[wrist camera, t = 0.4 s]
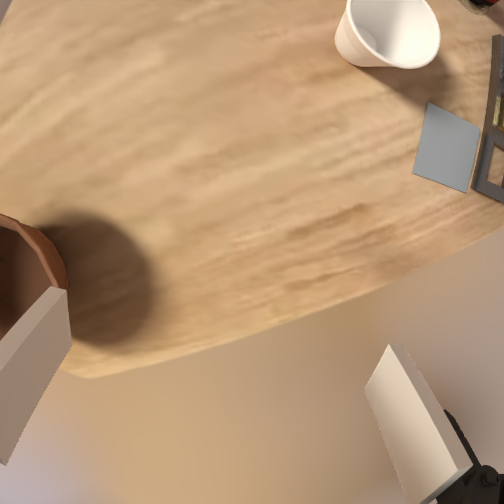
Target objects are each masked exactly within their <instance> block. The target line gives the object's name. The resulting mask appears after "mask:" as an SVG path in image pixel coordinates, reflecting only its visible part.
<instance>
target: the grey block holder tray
mask: <svg viewBox="0 0 504 504" xmlns="http://www.w3.org/2000/svg"><path fill="white" fill-rule="evenodd" d="M503 68H504V37H503V36H502V35H501V34H499V35H494V36H492V60H491V74H490V84H489V93H488V101H487V109H486V115H485V122H484V128H483V133H482V139H481V144H480V149H479V154H478V158H477V163H476V167H475V171H474V175H473V179H472V183H471V187H470V188H471V189H474V190H476V191H478V192H481V193H483V194H485V195H487V196H489V197H492V198H494V199H496V200H498V201H500V202H502V203H504V177H503V181H502V185H501V187H499V186H497V185H495V184H493V183H491V182H489V181H487V180H486V178H487V174H488V170H489V165H490V161H491V156H492V151H493V146H494V145H496V146H498V147H499V148H501V149H502V150H504V133H503V132H501V131H500V130H498V129H497V123H498V116H499V109H500V101H501V98H504V81H503Z"/></svg>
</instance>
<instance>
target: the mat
mask: <svg viewBox="0 0 504 504" xmlns="http://www.w3.org/2000/svg"><path fill="white" fill-rule="evenodd" d="M479 133H480V128H478V127H476V126H475V125H473V124H471V123H469V122H467V121H466V120H464V119H462V118H460V117H458V116H456V115H454V114H452V113H450V112H448V111H446V110H444V109H442V108H440V107H438V106H436V105H434V104H432V103H430V102H427V107H426V113H425V118H424V123H423V128H422V133H421V138H420V142H419V147H418V151H417V155H416V159H415V164H414V168H413V172H412V173H414V174H417V175H419V176H422V177H425V178H428V179H430V180H433V181H436V182H439V183H441V184H444V185H446V186H449V187H452V188H454V189H457V190H459V191H462V192H464V193H466V190H467V187H468V183H469V179H470V175H471V171H472V167H473V162H474V158H475V153H476V148H477V143H478V138H479Z"/></svg>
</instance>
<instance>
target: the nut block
mask: <svg viewBox="0 0 504 504" xmlns="http://www.w3.org/2000/svg"><path fill="white" fill-rule="evenodd" d="M497 129H499V130H500V131H502V132H503V133H504V98H501V101H500V109H499V116H498V123H497Z"/></svg>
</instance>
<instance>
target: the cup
mask: <svg viewBox="0 0 504 504" xmlns="http://www.w3.org/2000/svg"><path fill="white" fill-rule="evenodd" d="M440 41H441V36H440V28H439V24H438V21H437V19H436V16H435V14H434V12H433V11H432V9H431V7H430V6H429V4H428V3H427V2H426V1H425V0H347V7H346V9H345V12H344V14H343V17H342V19H341V22H340V24H339V26H338V28H337V31H336V34H335V45H336V48H337V50H338V52H339V53H340V55H341V56H342V57H343V58H344V59H345V60H346V61H348V62H349V63H351V64H353V65H356V66H360V67H372V66H373V67H374V66H391V67H398V68H402V69H415V68H420V67H423V66H425V65H427V64H428V63H430V62H431V61H432V60H433V59H434V57H435V56H436V55H437V52H438V50H439V47H440Z"/></svg>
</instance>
